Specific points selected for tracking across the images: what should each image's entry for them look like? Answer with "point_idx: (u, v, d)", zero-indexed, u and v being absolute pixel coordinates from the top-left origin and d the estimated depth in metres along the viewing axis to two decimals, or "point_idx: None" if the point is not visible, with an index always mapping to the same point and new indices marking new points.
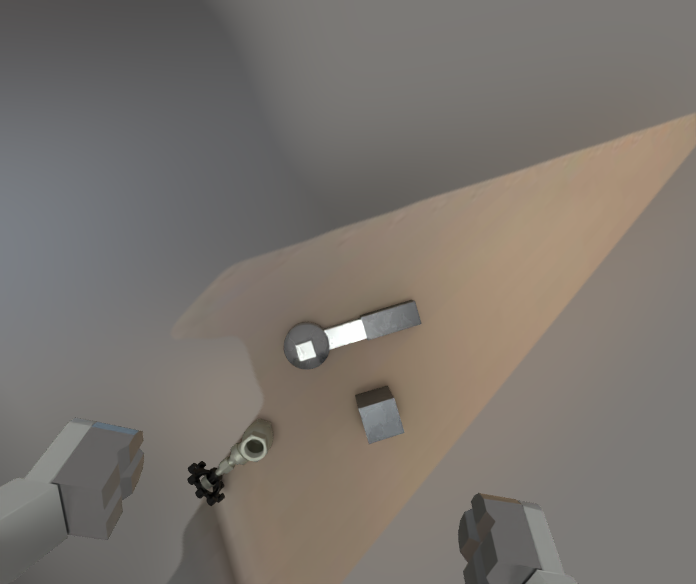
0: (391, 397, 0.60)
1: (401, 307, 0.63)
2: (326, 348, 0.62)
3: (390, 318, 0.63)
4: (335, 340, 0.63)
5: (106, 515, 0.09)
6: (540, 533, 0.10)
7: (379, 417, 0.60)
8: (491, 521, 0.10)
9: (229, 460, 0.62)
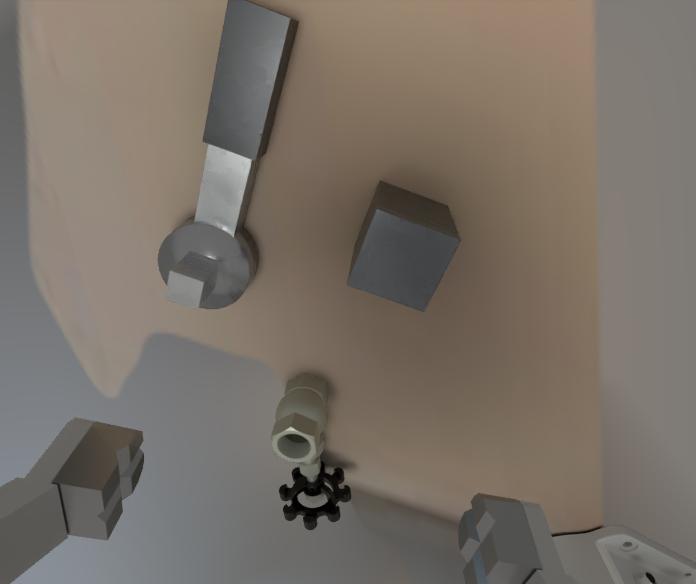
0: (375, 211, 0.25)
1: (227, 38, 0.25)
2: (224, 242, 0.30)
3: (238, 83, 0.26)
4: (222, 216, 0.30)
5: (106, 515, 0.09)
6: (540, 533, 0.10)
7: (391, 261, 0.26)
8: (491, 521, 0.10)
9: (303, 460, 0.38)
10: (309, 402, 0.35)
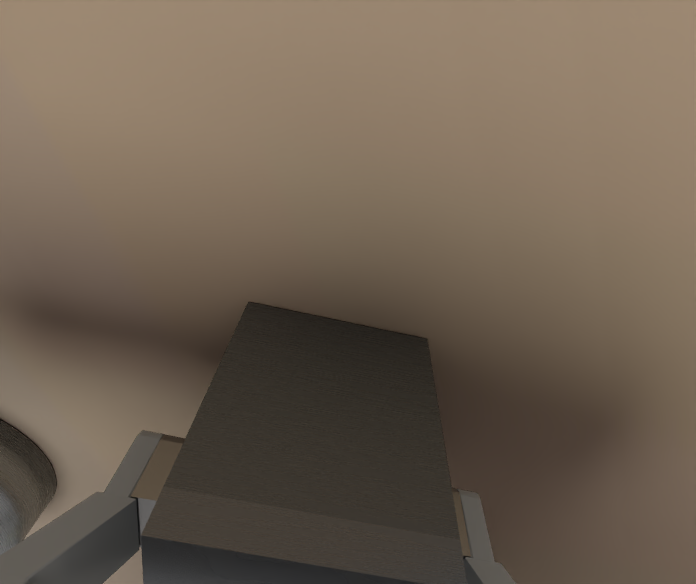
0: None
1: None
2: None
3: None
4: None
5: None
6: (474, 521, 0.10)
7: None
8: None
9: None
10: None
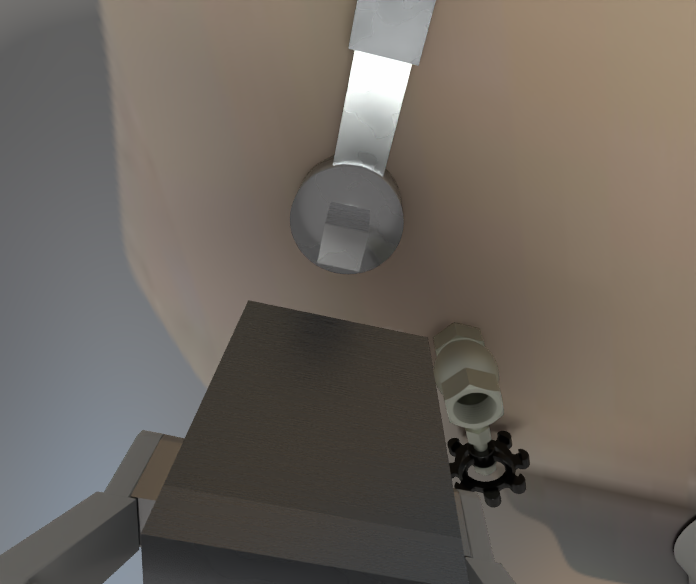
0: None
1: None
2: (375, 184, 0.24)
3: None
4: (369, 150, 0.23)
5: None
6: (474, 521, 0.10)
7: None
8: None
9: None
10: (477, 353, 0.28)
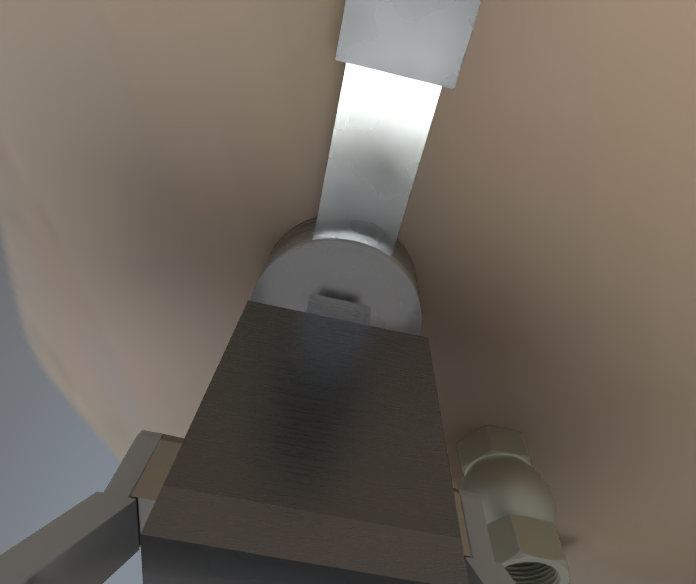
0: None
1: None
2: (379, 270, 0.15)
3: None
4: (370, 219, 0.15)
5: None
6: (474, 521, 0.10)
7: None
8: None
9: None
10: (525, 487, 0.19)
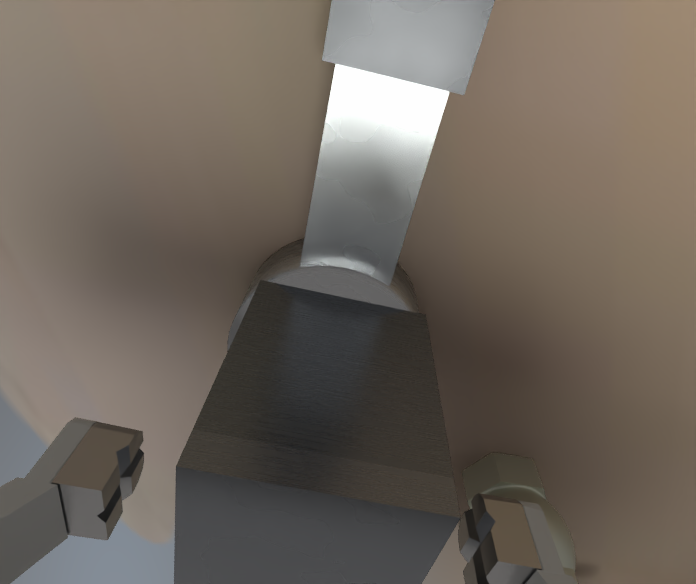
0: None
1: None
2: (375, 302, 0.13)
3: None
4: (365, 244, 0.13)
5: (106, 515, 0.09)
6: (540, 533, 0.10)
7: (269, 564, 0.09)
8: (491, 521, 0.10)
9: None
10: None
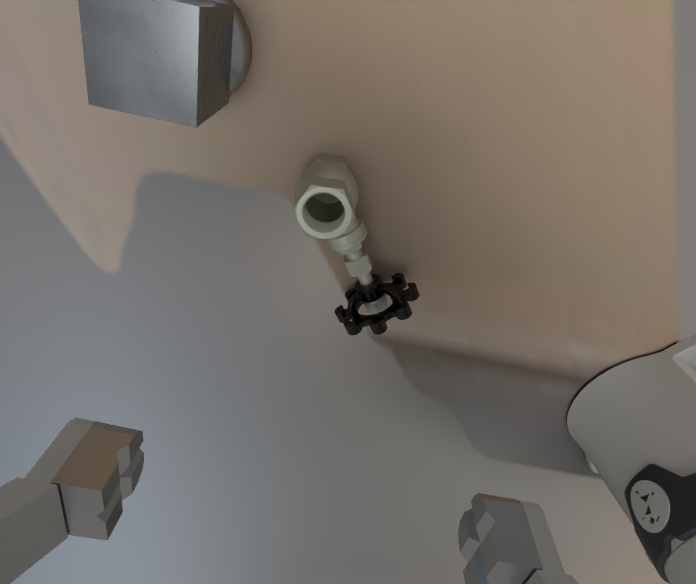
0: None
1: None
2: None
3: None
4: None
5: (106, 515, 0.09)
6: (540, 533, 0.10)
7: (127, 57, 0.20)
8: (491, 521, 0.10)
9: (348, 257, 0.32)
10: (328, 165, 0.28)
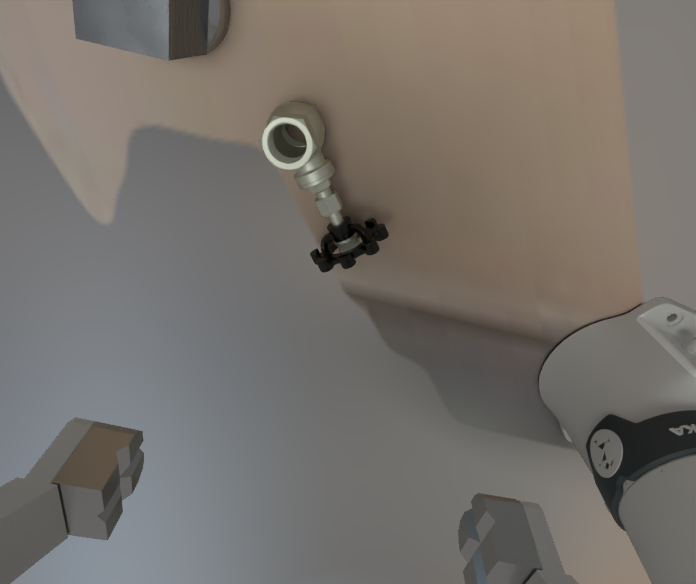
0: None
1: None
2: None
3: None
4: None
5: (106, 515, 0.09)
6: (540, 533, 0.10)
7: None
8: (491, 521, 0.10)
9: (318, 196, 0.34)
10: (294, 104, 0.30)
